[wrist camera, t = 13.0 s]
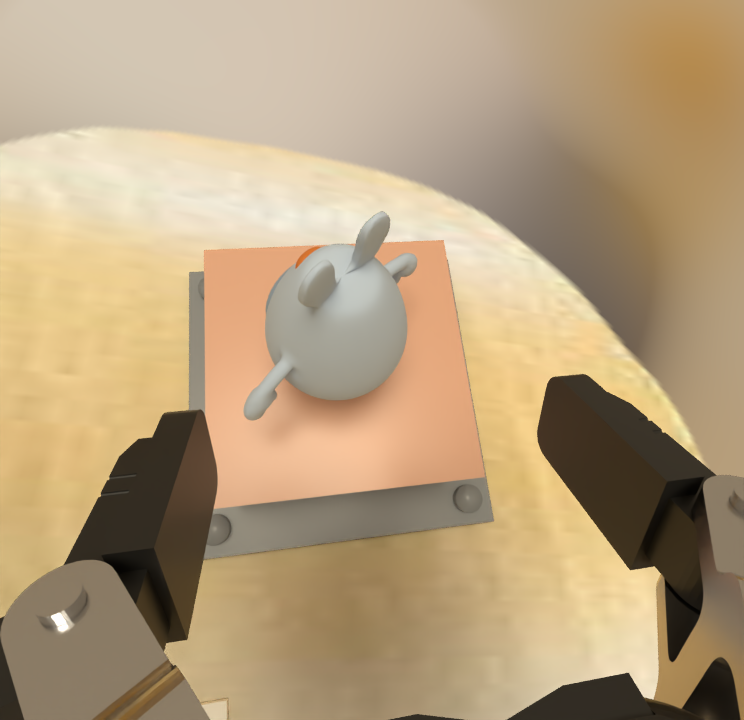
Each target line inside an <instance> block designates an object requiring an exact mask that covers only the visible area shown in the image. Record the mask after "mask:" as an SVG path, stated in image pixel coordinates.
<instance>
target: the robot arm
mask: <svg viewBox="0 0 744 720" xmlns="http://www.w3.org/2000/svg"><path fill="white" fill-rule="evenodd" d="M537 437H538V443H539V446H540V449H541V451H542V453H543V455H544V456H545V458H546V459H547V460H548V462H549V463H550V464H551V466H552V467H553V468H554V470H555V471H556V472H557V474H558V475H559V476H560V478H561V479H562V480H563V482H564V483H565V484H566V486H567V487H568V488H569V490H570V491H571V492H572V494H573V495H574V496H575V498H576V499H577V500H578V501H579V503H580V504H581V505H582V507H583V508H584V509H585V511H586V512H587V513H588V515H589V516H590V517H591V519H592V520H593V521H594V523H595V524H596V525H597V527H598V528H599V529H600V531H601V532H602V533H603V535H604V536H605V537H606V539H607V540H608V541H609V543H610V544H611V545H612V547H613V548H614V549H615V551H616V552H617V553H618V555H619V556H620V557H621V559H622V560H623V561H624V563H625V564H626V565H627V567H628V568H629V569H630V570H634V569H641V568H647V567H653V566H655V567H656V568H657V570H658V571H659V572H660V573H661V575H660V577H659V579H658V581H657V586H656V595H657V627H658V660H659V675H658V683H657V688H656V692H655V696H654V700H652V699H648V698H644V697H643V696H642V694H641V693H640V691H639V689H638V688H637V686H636V684H635V683H634V681H633V679H632V678H631V676H630V674H629V673H625V674H620V675H614V676H609V677H604V678H599V679H594V680H589V681H584V682H579V683H574V684H569V685H563V686H561V687H560V688H558V689H556V690H555V691H553V692H552V693H550V694H548V695H547V696H545V697H543V698H542V699H540V700H538V701H537V702H535V703H534V704H532V705H530V706H529V707H527V708H525V709H524V710H522V711H520V712H519V713H517V714H516V715H514V716H512V717H511V718H509V719H507V720H744V478H742V477H737V476H731V475H718V476H717V475H715V474H714V473H713V472H712V471H711V470H709V469H708V468H707V467H706V466H705V465H703V464H702V463H701V462H700V461H699V460H697V459H696V458H695V457H694V456H693V455H691V454H690V453H689V452H688V451H687V450H685V449H684V448H683V447H682V446H681V445H680V444H678V443H677V442H676V441H675V440H674V439H672V438H671V437H670V436H669V435H668V434H666V433H662V429H660V428H659V427H658V426H657V425H656V424H654V423H653V422H652V421H648V418H647V417H646V416H645V415H644V414H642V413H641V412H640V411H639V410H638V409H637V408H635V407H634V406H633V405H632V404H630V403H628V402H626V401H624V400H622V399H620V398H619V397H617V396H615V395H613V394H611V393H609V392H606V391H605V390H604V389H603V388H602V387H601V386H599V385H598V384H597V383H596V382H595V381H594V380H592V379H591V378H590V377H589V376H587V375H585V374H579V375H569V376H558V377H553V378H551V379H550V380H549V382H548V384H547V387H546V392H545V397H544V401H543V406H542V411H541V415H540V420H539V425H538V430H537ZM109 477H110V479H109V480H107V482H106V484H105V486H104V488H103V490H102V492H101V497H98V499H97V501H96V503H95V505H94V507H93V509H92V511H91V513H90V515H89V517H88V519H87V521H86V523H85V525H84V527H83V529H82V531H81V533H80V535H79V537H78V538H77V540H76V542H75V544H74V546H73V548H72V550H71V552H70V554H69V556H68V558H67V560H66V562H65V564H64V566H61V567H59V568H57V569H55V570H53V571H51V572H49V573H47V574H46V575H44V576H42V577H41V578H39V579H38V580H37V581H35V582H34V583H33V584H31V585H30V586H29V587H28V588H27V589H26V590H25V591H23V592H22V593H21V594H20V596H19V597H18V598H17V599H16V600H15V601H14V603H13V604H12V605H11V607H10V608H9V610H8V611H7V613H6V615H5V616H4V617H2V618H0V720H210V718H209V717H208V715H207V713H206V712H205V710H204V708H203V707H202V705H201V704H200V702H199V700H198V699H197V697H196V695H195V694H194V692H193V690H192V689H191V687H190V685H189V684H188V682H187V681H186V679H185V677H184V676H183V674H182V673H181V672H180V670H179V669H178V668H177V666H176V665H174V666H173V665H172V664H171V663H170V661H169V660H168V658H167V656H166V655H165V653H164V650H165V645H166V643H169V642H176V641H182V640H187V639H188V634H189V629H190V624H191V619H192V614H193V609H194V604H195V599H196V594H197V589H198V584H199V579H200V574H201V569H202V564H203V559H204V554H205V549H206V544H207V539H208V534H209V529H210V524H211V519H212V514H213V509H214V504H215V499H216V494H217V485H218V475H217V465H216V460H215V456H214V452H213V447H212V443H211V439H210V435H209V430H208V426H207V422H206V418H205V414H204V412H203V411H202V410H201V409H198V410H188V411H177V412H167V413H164V414H163V415H162V417H161V419H160V421H159V424H158V426H157V428H156V431H155V433H154V435H153V437H152V438H143V439H138V440H137V441H136V442H135V443H134V444H132V445H131V446H130V447H129V448H128V449H127V450H126V451H125V452H124V453H123V454H122V455H121V456H119V458H118V460H117V462H116V464H115V466H114V468H113V470H112V472H111V474H110V476H109ZM390 720H462V719H454V718H445V717H437V716H428V715H420V714H416V715H411V716H405V717H400V718H395V719H390Z"/></svg>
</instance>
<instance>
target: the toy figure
mask: <svg viewBox="0 0 744 720" xmlns="http://www.w3.org/2000/svg"><path fill="white" fill-rule="evenodd" d="M389 228H390V218H389V216H388V215H387V214H386V213H385V212H383V211H382V212H379V213H377V214H375V215H374V216H373V217H372V218H370V219H369V220H368V221H367V222H366V223H365V224H364V226H363V227H362V229H361V230H360V232H359V234H358V237H357V240H356V245H355V246H353V245H348V244H332V245H327V246H324V247H317V246H316V247H312V248H310V249H308V250H307V251H305V252H304V253H303V254H302V255H301V256H300V257H299V259H298V260H297V262H296V263H295V264H294V265H292V266H291V267H290V268H288V269H287V270H286V271H285V272H284V273H283V274H282V275H281V276H280V277H279V279H278V280H277V281H276V283H275V284H274V286H273V287H272V289H271V291H270V293H269V296H268V299H267V302H266V319H265V337H266V343H267V347H268V351H269V353H270V356H271V358H272V361H273V363H274V364H275V367H274V368H273V369H272V370H271V371H270V372H269V373H268V375H267V376H266V377H265V378H264V380H263V381H262V382H261V383H260V385H259V386H257V387H256V388H255V389H253V390H252V391H251V393H250V394H249V396H248V398H247V400H246V402H245V405H244V410H243V411H244V416H245V417H246V418H247V419H248V420H251V421H254V420H257V419H259V418H261V417H262V416H263V414H264V413H265V411H266V410H267V409H268V407H269V406H270V405H271V404H272V402H273V401H274V400H275V399H276V398H277V392H276V391H275V388H276V387H277V386H278V385H279V384H280V382H281V381H282V380H283V379H284V378H285V379H286V380H287V381H288V382H289V383H290V384H292V385H293V386H294V387H295V388H297V389H299V390H300V391H302V392H304V393H306V394H308V395H310V396H313V397H316V398H320V399H325V400H348V399H353V398H356V397H360V396H362V395H365V394H367V393H369V392H371V391H372V390H374V389H376V388H377V387H379V386H380V385H381V384H382V383H383V382H384V381H385V380H387V379H388V377H389V376H390V375H391V374H392V373H393V371H394V370H395V368H396V367H397V365H398V363H399V361H400V359H401V357H402V355H403V352H404V348H405V344H406V339H407V315H406V309H405V305H404V301H403V298H402V295H401V293H400V290H399V288H398V286H397V283H399V281H400V279H401V277H407V276H410V275H411V274H412V273H413V272H414V271H415V269H416V267H417V258H416V256H415V255H414V254H411V253H403V254H401V255H399V256H398V257H397V258H395V259H393V260H391V261H390V262H388V263H387V264H385V265H383V264H382V263H381V262H380V261H379V260H378V259H377V258H375V257H374V256H375V255H376V253H377V252H378V250H379V249H380V247H381V245H382V243H383V241H384V239H385V237H386V236H387V234H388V231H389Z"/></svg>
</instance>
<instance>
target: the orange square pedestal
mask: <svg viewBox="0 0 744 720" xmlns="http://www.w3.org/2000/svg"><path fill="white" fill-rule="evenodd" d="M348 245H353V246H355V245H356V244H348ZM324 246H327V245H317V247H324ZM312 247H316V246H292V247H268V248H244V249H220V250H204V272H189V410H198V409H201V410H202V411H203V412H204V414H205V418H206V422H207V426H208V430H209V435H210V439H211V443H212V447H213V452H214V456H215V460H216V465H217V475H218V485H217V494H216V499H215V504H214V509H213V514H212V519H211V524H210V529H209V534H208V539H207V544H206V549H205V554H204V559H211V558H219V557H226V556H234V555H242V554H249V553H257V552H264V551H272V550H279V549H287V548H295V547H302V546H310V545H317V544H325V543H333V542H340V541H348V540H355V539H363V538H370V537H378V536H386V535H393V534H401V533H408V532H416V531H424V530H431V529H439V528H446V527H454V526H462V525H469V524H477V523H484V522H492V521H494V518H493V513H492V507H491V501H490V496H489V490H488V485H487V479H486V473H485V468H484V462H483V456H482V451H481V445H480V439H479V434H478V428H477V422H476V417H475V411H474V405H473V400H472V394H471V389H470V383H469V377H468V372H467V366H466V360H465V355H464V349H463V343H462V338H461V332H460V326H459V321H458V315H457V309H456V304H455V298H454V293H453V287H452V281H451V276H450V270H449V264H448V260H447V257H446V252H445V246H444V240H437V241H413V242H389V243H382V245H381V247H380V249H379V250H378V252H377V253H376V255H375V256H374V257H375V258H377V259H378V260H379V261H380V262H381V263H382V264H383V265H385V264H387V263H388V262H390V261H391V260H393V259H395V258H397V257H398V256H399V255H401V254H403V253H411V254H414V255H415V256H416V258H417V267H416V269H415V271H414V272H413V273H412V274H411V275H410V276H407V277H401V279H400V281H399V283H397V286H398V288H399V290H400V293H401V295H402V298H403V301H404V305H405V309H406V315H407V339H406V344H405V348H404V352H403V355H402V357H401V359H400V361H399V363H398V365H397V367H396V368H395V370H394V371H393V373H392V374H391V375H390V376H389V377H388V379H387V380H385V381H384V382H383V383H382V384H381V385H380V386H379V387H377V388H376V389H374V390H372V391H371V392H369V393H367V394H365V395H362V396H360V397H356V398H353V399H348V400H325V399H320V398H316V397H313V396H310V395H308V394H306V393H304V392H302V391H300V390H299V389H297V388H295V387H294V386H293V385H292V384H290V383H289V382H288V381H287V380H286V379H285V378H284V379H283V380H282V381H281V382H280V384H279V385H278V386H277V387H276V388H275V391H276V392H277V398H276V399H275V400H274V401H273V402H272V404H271V405H270V406H269V407H268V409H267V410H266V411H265V413H264V414H263V416H262V417H261V418H259V419H257V420H254V421H251V420H248V419H247V418H246V417H245V416H244V411H243V410H244V405H245V402H246V400H247V398H248V396H249V394H250V393H251V391H252V390H253V389H255V388H256V387H257V386H259V385H260V383H261V382H262V381H263V380H264V378H265V377H266V376H267V375H268V373H269V372H270V371H271V370H272V369H273V368H274V367H275V364H274V363H273V361H272V358H271V356H270V353H269V351H268V347H267V343H266V337H265V319H266V302H267V299H268V296H269V293H270V291H271V289H272V287H273V286H274V284H275V283H276V281H277V280H278V279H279V277H280V276H281V275H282V274H283V273H284V272H285V271H286V270H287V269H288V268H290V267H291V266H292V265H294V264H295V263H296V262H297V260H298V259H299V257H300V256H301V255H302V254H303V253H304V252H305V251H307V250H308V249H310V248H312ZM204 559H203V560H204Z"/></svg>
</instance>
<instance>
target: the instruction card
mask: <svg viewBox="0 0 744 720" xmlns="http://www.w3.org/2000/svg"><path fill="white" fill-rule="evenodd" d="M200 704H201V705H202V707H203V708H204V710H205V712H206V713H207V715H208V717H209V718H210V720H228V698H227V699H221V700H215V701H209V702H203V703H200Z"/></svg>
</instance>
